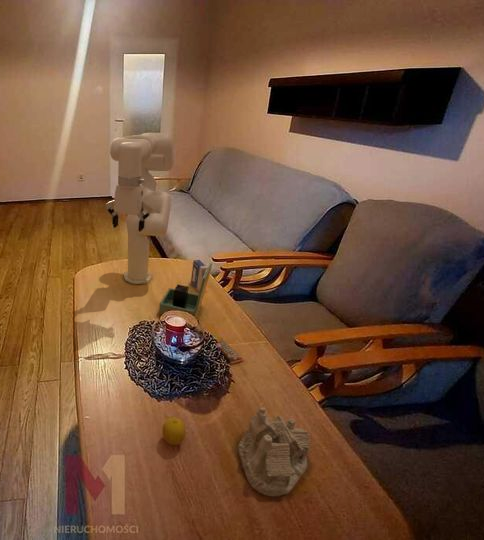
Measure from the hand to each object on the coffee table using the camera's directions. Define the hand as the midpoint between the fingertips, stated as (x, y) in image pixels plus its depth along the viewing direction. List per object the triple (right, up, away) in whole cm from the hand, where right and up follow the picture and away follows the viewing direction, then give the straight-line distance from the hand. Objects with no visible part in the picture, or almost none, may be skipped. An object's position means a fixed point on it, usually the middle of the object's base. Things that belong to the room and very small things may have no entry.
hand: (128, 228), depth 126 cm
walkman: (+33, -23, +27) cm, 49 cm away
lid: (+28, -21, +2) cm, 35 cm away
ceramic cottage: (+30, -61, -43) cm, 81 cm away
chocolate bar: (+32, -43, -10) cm, 54 cm away
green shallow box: (+22, -32, +11) cm, 40 cm away
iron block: (+21, -31, +11) cm, 39 cm away
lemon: (+8, -59, -38) cm, 71 cm away
